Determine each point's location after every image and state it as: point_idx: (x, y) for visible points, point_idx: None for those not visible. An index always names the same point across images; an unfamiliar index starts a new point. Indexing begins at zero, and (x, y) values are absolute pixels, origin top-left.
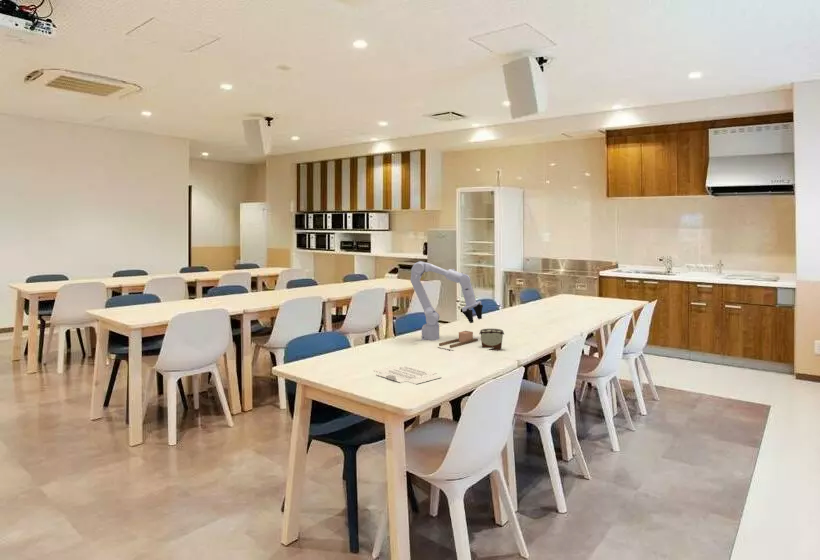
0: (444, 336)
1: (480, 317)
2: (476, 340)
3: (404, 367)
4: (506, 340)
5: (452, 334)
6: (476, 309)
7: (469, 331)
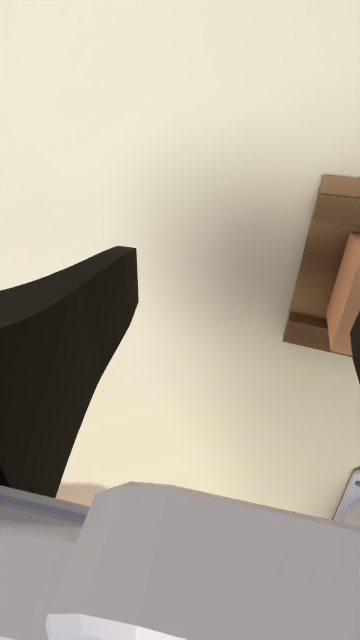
0: (211, 487)
1: (129, 265)
2: (341, 196)
3: None
4: (64, 29)
5: (136, 462)
6: (57, 419)
7: (356, 296)
